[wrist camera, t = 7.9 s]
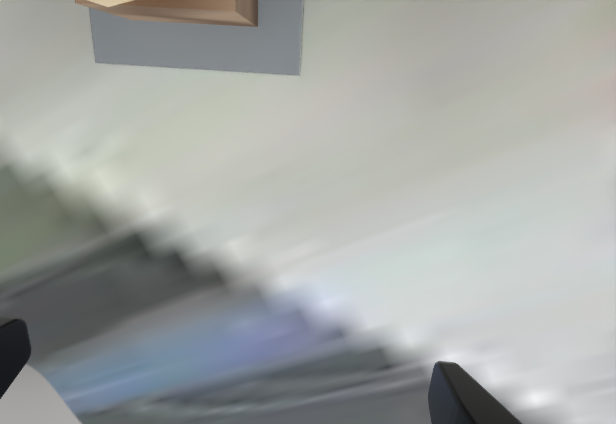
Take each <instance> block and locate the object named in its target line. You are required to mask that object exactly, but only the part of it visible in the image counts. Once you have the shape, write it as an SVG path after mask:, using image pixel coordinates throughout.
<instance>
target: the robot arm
mask: <svg viewBox="0 0 616 424" xmlns="http://www.w3.org/2000/svg"><path fill="white" fill-rule="evenodd" d="M30 355H31V344H30V339H29V334H28V330H27V325H26V322H25V321H24V320H23V319H21V318H16V317H0V399H1V397H2V396H3V394H4V393H5V392H6V390H7V389H8V388H9V386H10V385H11V383H12V382H13V381H14V379H15V378H16V377H17V375H18V374H19V372H20V371H21V370H22V368H23V367H24V365H25V364H26V363H27V361H28V360H29V357H30ZM428 403H429V410H430V416H431V423H432V424H523V423H522V422H520V421H519V420H518V419H517V418H516V417H515V416H514V415H513V414H512V413H511V412H510V411H508V410H507V409H506V408H505V407H504V406H503V405H502V404H501V403H500V402H499V401H497V400H496V399H495V398H494V397H493V396H492V395H491V394H490V393H489V392H488V391H487V390H485V389H484V388H483V387H482V386H481V385H480V384H479V383H478V382H477V381H476V380H475V379H473V378H472V377H471V376H470V375H469V374H468V373H467V372H466V371H465V370H464V369H463V368H461V367H460V366H459V365H458V364H456V363H453V362H444V361H438V362H436V363H435V365H434V368H433V373H432V378H431V383H430V388H429V393H428Z"/></svg>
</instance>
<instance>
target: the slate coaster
mask: <svg viewBox="0 0 616 424" xmlns="http://www.w3.org/2000/svg"><path fill="white" fill-rule="evenodd" d="M303 5H304V0H258V27H247V26H229V25H211V24H193V23H175V22H156V21H138V20H129V19H126V18H123V17H120V16H116V15H113V14H110V13H107V12H103V11H100V10H97V9H93V8H90V7H89V10H90V19H91V28H92V37H93V45H94V54H95V63H103V64H119V65H135V66H151V67H167V68H183V69H199V70H215V71H231V72H247V73H263V74H279V75H295V76H300V65H301V45H302V25H303Z"/></svg>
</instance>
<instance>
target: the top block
mask: <svg viewBox="0 0 616 424" xmlns="http://www.w3.org/2000/svg"><path fill="white" fill-rule="evenodd" d="M88 1H91V2H94V3H97V4H100V5H103V6H106V7H111V6H114V5H118V4H122V3H126V2H129V1H133V0H88Z"/></svg>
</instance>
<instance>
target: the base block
mask: <svg viewBox="0 0 616 424" xmlns="http://www.w3.org/2000/svg"><path fill="white" fill-rule="evenodd" d="M75 3H77V4H80V5H84V6H87V7H90V8H93V9H97V10H100V11H103V12H107V13H110V14H113V15H116V16H120V17H123V18H126V19H129V20H138V21H156V22H175V23H193V24H211V25H229V26H247V27H258V0H133V1H129V2H126V3H122V4H118V5H114V6H111V7H106V6H103V5H100V4H97V3H94V2H91V1H88V0H75Z"/></svg>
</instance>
